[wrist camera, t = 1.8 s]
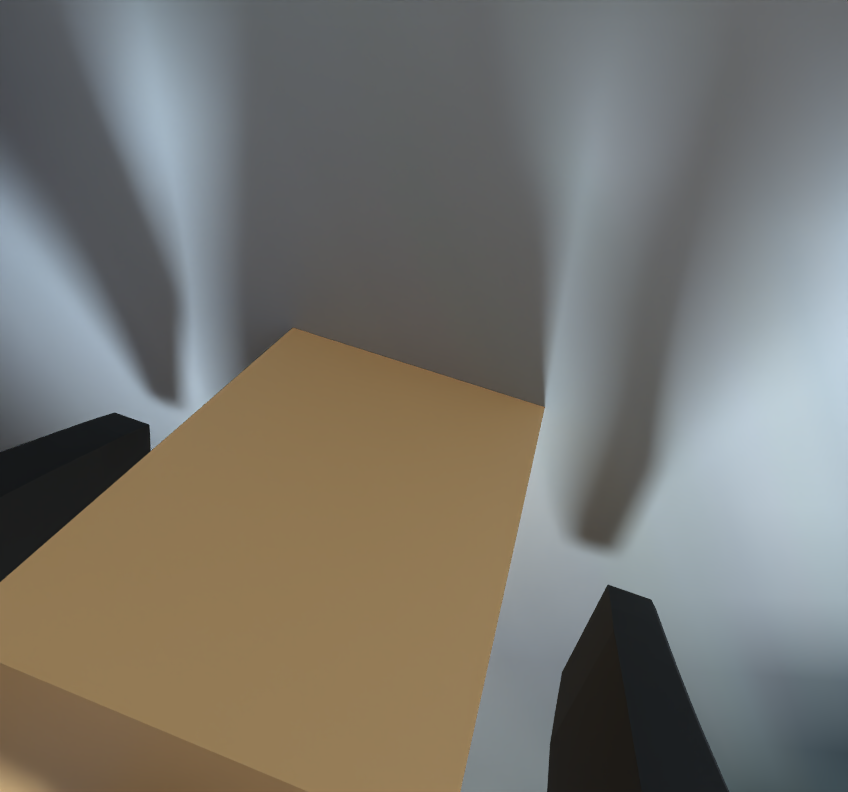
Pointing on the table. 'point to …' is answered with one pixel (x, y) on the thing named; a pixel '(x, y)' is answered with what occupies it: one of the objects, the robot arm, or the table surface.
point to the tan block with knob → (275, 590)
